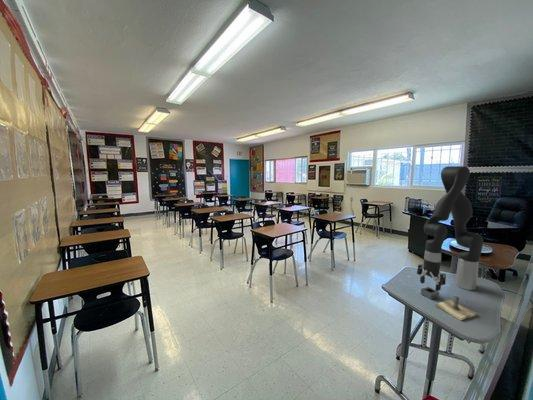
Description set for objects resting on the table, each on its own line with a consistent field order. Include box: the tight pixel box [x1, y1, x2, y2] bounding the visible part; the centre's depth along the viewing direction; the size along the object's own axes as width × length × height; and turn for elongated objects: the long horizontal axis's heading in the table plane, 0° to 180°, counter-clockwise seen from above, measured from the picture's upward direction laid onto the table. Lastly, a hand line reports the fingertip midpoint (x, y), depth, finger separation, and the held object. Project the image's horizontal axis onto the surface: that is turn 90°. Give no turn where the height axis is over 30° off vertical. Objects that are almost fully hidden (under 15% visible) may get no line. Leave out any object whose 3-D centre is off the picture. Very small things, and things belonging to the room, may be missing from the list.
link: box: [420, 286, 440, 300], centre depth 128 cm, size 6×6×3 cm
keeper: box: [435, 295, 478, 321], centre depth 114 cm, size 11×12×7 cm
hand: (429, 286), depth 127 cm, fingers open, 8 cm apart
